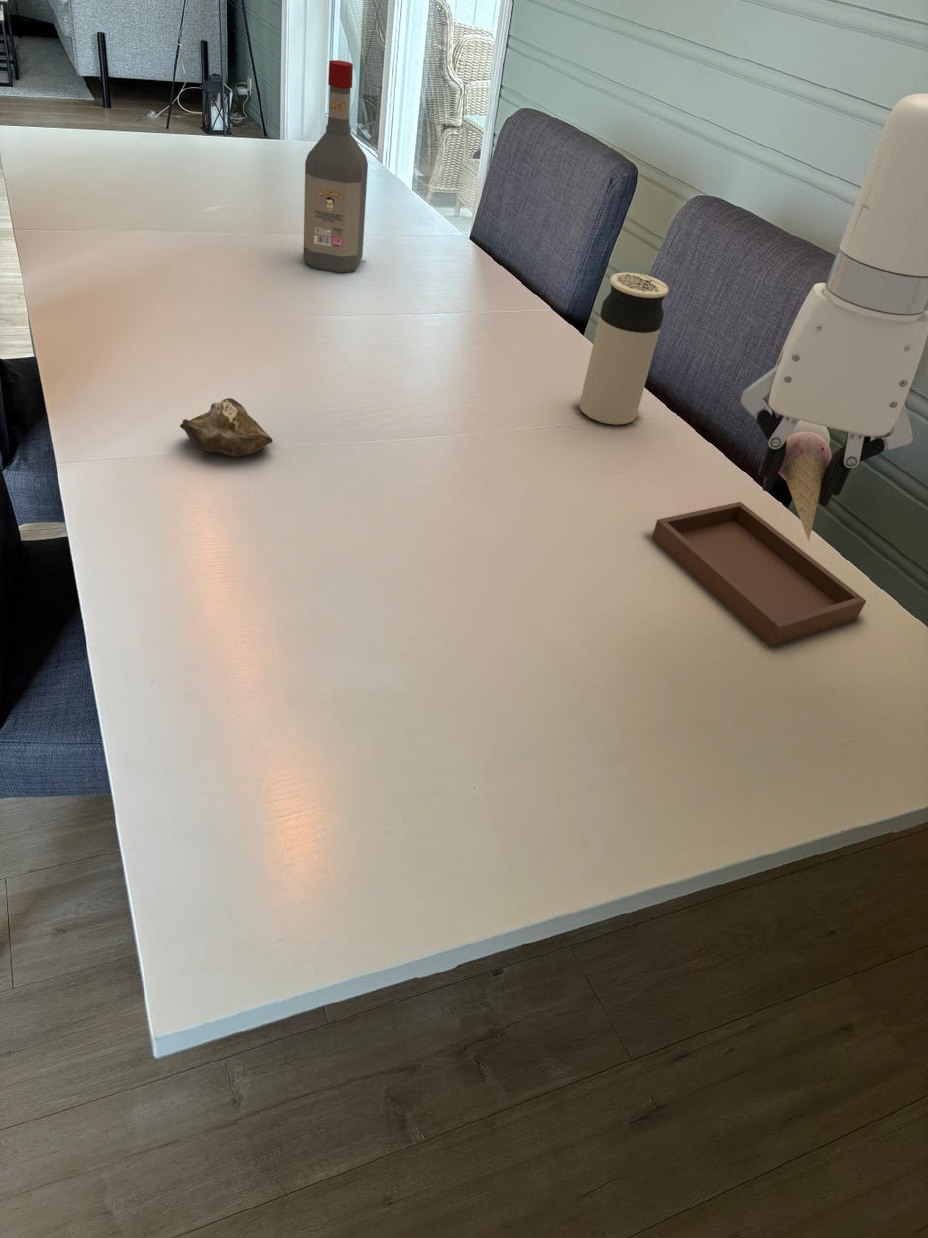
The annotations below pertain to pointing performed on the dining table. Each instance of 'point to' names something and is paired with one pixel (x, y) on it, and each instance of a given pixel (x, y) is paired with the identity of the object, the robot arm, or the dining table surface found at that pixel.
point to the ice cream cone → (806, 468)
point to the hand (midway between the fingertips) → (795, 489)
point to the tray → (757, 572)
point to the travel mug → (623, 348)
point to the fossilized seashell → (226, 430)
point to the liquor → (335, 185)
